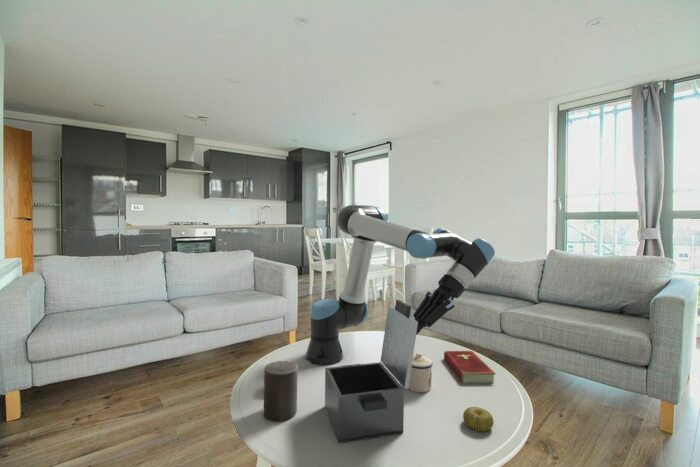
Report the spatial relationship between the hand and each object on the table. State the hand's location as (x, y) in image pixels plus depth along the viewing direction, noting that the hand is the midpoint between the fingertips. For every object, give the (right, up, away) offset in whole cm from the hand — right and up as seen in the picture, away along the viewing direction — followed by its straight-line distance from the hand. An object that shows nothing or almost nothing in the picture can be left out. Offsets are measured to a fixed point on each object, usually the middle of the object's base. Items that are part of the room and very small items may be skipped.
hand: (404, 340), depth 100 cm
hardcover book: (+29, -22, +31) cm, 48 cm away
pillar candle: (-37, -22, +1) cm, 43 cm away
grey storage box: (-13, -22, -2) cm, 26 cm away
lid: (-2, +1, 0) cm, 3 cm away
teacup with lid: (+8, -22, +19) cm, 30 cm away
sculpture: (+20, -23, -5) cm, 31 cm away
